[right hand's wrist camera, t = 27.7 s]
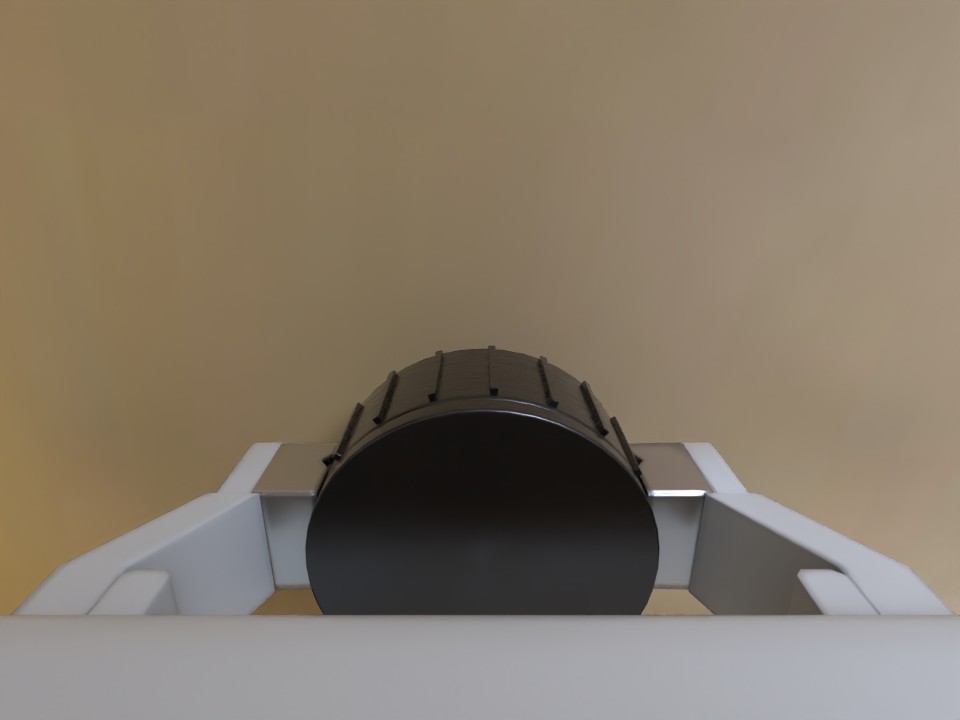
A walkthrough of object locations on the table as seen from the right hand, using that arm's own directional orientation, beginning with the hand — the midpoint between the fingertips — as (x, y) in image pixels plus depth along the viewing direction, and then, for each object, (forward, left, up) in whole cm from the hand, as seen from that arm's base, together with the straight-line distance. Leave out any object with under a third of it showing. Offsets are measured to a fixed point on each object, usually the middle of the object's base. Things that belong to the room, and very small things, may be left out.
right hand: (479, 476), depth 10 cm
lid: (0, 0, +2) cm, 2 cm away
